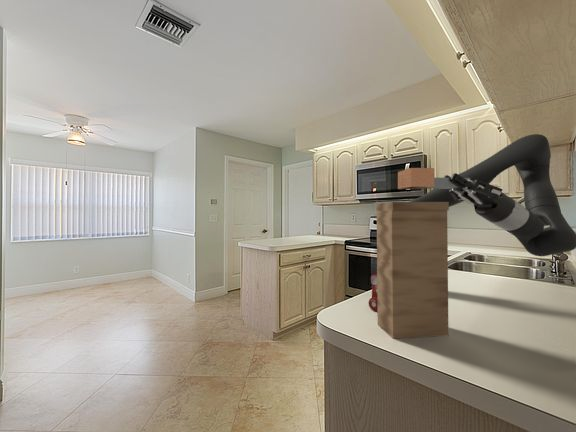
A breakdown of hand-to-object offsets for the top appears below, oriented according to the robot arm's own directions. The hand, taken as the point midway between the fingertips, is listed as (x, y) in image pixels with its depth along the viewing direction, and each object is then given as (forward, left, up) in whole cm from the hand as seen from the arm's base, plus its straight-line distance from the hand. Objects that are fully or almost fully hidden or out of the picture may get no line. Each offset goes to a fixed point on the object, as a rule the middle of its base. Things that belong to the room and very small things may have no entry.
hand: (448, 177), depth 67 cm
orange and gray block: (0, -3, -3) cm, 4 cm away
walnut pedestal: (0, -10, -39) cm, 40 cm away
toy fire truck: (-13, -10, -39) cm, 42 cm away
